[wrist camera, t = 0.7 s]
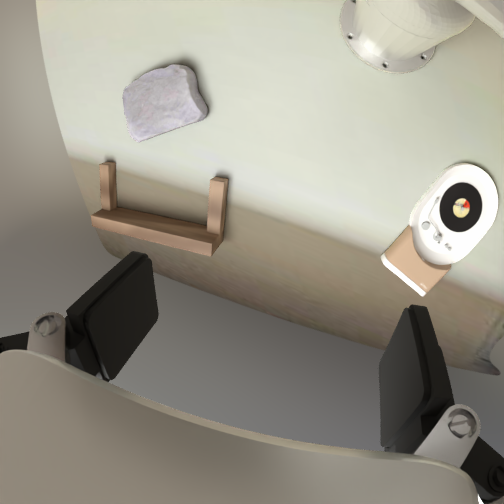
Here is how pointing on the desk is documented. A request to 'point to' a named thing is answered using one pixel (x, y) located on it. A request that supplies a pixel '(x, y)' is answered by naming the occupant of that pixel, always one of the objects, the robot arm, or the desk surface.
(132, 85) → the stone block
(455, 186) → the record player
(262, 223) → the desk surface
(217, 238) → the walnut frame
